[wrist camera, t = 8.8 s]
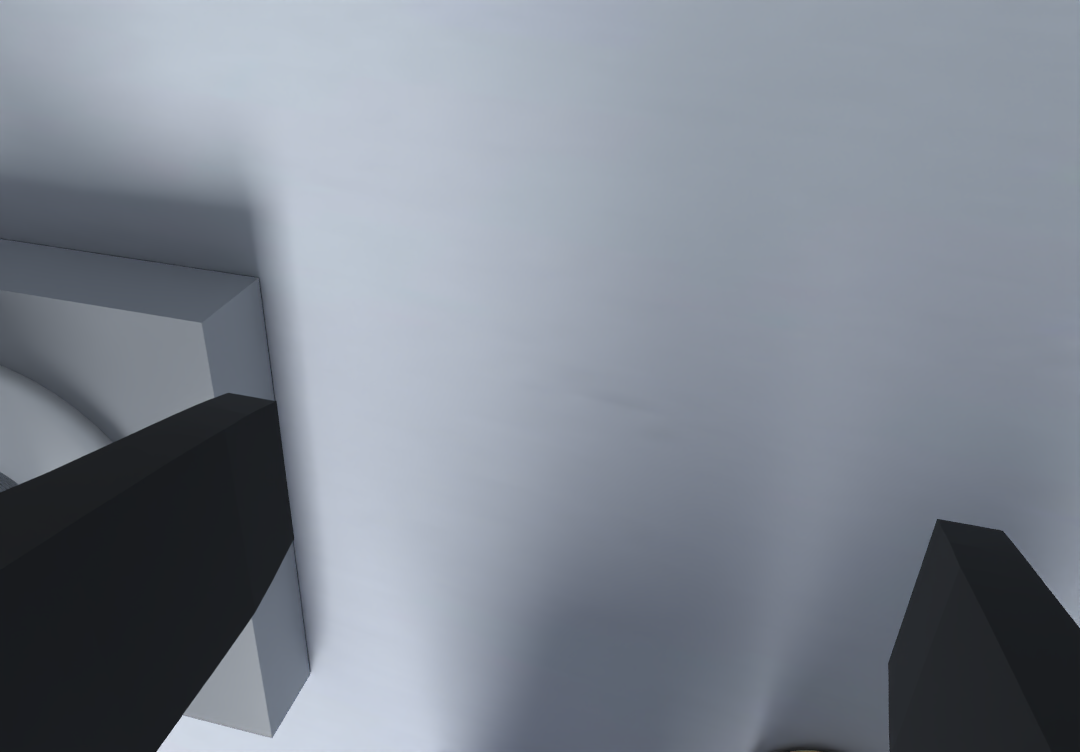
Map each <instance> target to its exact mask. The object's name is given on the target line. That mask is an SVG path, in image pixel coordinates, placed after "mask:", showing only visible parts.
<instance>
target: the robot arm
mask: <svg viewBox="0 0 1080 752" xmlns="http://www.w3.org/2000/svg"><path fill="white" fill-rule="evenodd" d="M293 540H294V535H293V528H292V520H291V512H290V504H289V497H288V489H287V481H286V473H285V466H284V458H283V450H282V442H281V434H280V427H279V419H278V411H277V403H276V401H273V400H267V399H261V398H256V397H250V396H245V395H239V394H233V393H226V394H223V395H221V396H218V397H215V398H212V399H210V400H207V401H205V402H202V403H200V404H197V405H195V406H193V407H190V408H188V409H186V410H183V411H181V412H179V413H177V414H174V415H172V416H170V417H168V418H165V419H163V420H161V421H159V422H157V423H154V424H152V425H150V426H148V427H146V428H143V429H141V430H139V431H137V432H135V433H133V434H130V435H128V436H126V437H124V438H122V439H120V440H117V441H115V442H113V443H111V444H109V445H107V446H104V447H102V448H100V449H98V450H96V451H93V452H91V453H89V454H87V455H85V456H82V457H80V458H78V459H76V460H74V461H72V462H69V463H67V464H65V465H63V466H61V467H58V468H56V469H54V470H52V471H50V472H47V473H45V474H43V475H40V476H38V477H36V478H33V479H31V480H29V481H26V482H24V483H21V484H19V485H17V486H14V487H12V488H10V489H7V490H5V491H2V492H0V752H156V751H157V750H158V749H159V747H160V746H161V744H162V743H163V742H164V740H165V739H166V737H167V736H168V735H169V733H170V732H171V731H172V729H173V728H174V726H175V725H176V724H177V722H178V721H179V719H180V718H181V717H182V715H183V714H184V712H185V711H186V710H187V708H188V707H189V706H190V704H191V703H192V701H193V700H194V699H195V697H196V696H197V694H198V693H199V692H200V690H201V689H202V687H203V686H204V685H205V683H206V682H207V681H208V679H209V678H210V676H211V675H212V674H213V672H214V671H215V669H216V668H217V667H218V665H219V664H220V662H221V661H222V659H223V658H224V657H225V655H226V654H227V652H228V651H229V650H230V648H231V647H232V645H233V644H234V642H235V641H236V640H237V638H238V637H239V635H240V634H241V633H242V631H243V630H244V628H245V627H246V625H247V624H248V622H249V621H250V619H251V618H252V617H253V615H254V614H255V612H256V610H257V608H258V607H259V605H260V603H261V601H262V599H263V597H264V596H265V594H266V592H267V590H268V588H269V587H270V585H271V583H272V581H273V579H274V577H275V575H276V573H277V571H278V569H279V567H280V565H281V563H282V561H283V559H284V558H285V556H286V554H287V552H288V550H289V548H290V546H291V544H292V542H293ZM888 669H889V741H890V752H1080V628H1079V627H1078V625H1077V624H1076V623H1075V622H1074V620H1073V619H1072V618H1071V617H1070V615H1069V614H1068V613H1067V611H1066V610H1065V609H1064V608H1063V606H1062V605H1061V604H1060V603H1059V601H1058V600H1057V599H1056V598H1055V596H1054V595H1053V594H1052V592H1051V591H1050V590H1049V589H1048V587H1047V586H1046V585H1045V583H1044V582H1043V581H1042V580H1041V578H1040V577H1039V576H1038V574H1037V573H1036V572H1035V571H1034V569H1033V568H1032V567H1031V565H1030V564H1029V563H1028V562H1027V560H1026V559H1025V558H1024V556H1023V555H1022V554H1021V553H1020V551H1019V550H1018V549H1017V548H1016V546H1015V545H1014V544H1013V543H1012V541H1011V540H1010V539H1009V538H1008V537H1007V535H1006V534H1005V533H1004V532H1003V531H1001V530H996V529H990V528H984V527H979V526H973V525H968V524H962V523H956V522H951V521H945V520H940V519H937V521H936V524H935V527H934V530H933V533H932V536H931V539H930V542H929V545H928V548H927V551H926V554H925V557H924V560H923V563H922V566H921V569H920V572H919V575H918V577H917V580H916V583H915V586H914V589H913V592H912V595H911V598H910V601H909V604H908V607H907V610H906V613H905V616H904V619H903V622H902V625H901V628H900V631H899V634H898V636H897V639H896V642H895V645H894V648H893V651H892V654H891V657H890V660H889V663H888Z"/></svg>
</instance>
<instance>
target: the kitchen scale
mask: <svg viewBox="0 0 1080 752" xmlns="http://www.w3.org/2000/svg"><path fill="white" fill-rule="evenodd" d="M226 393H233V394H239V395H245V396H250V397H256V398H261V399H267V400H273V401H275V400H274V392H273V384H272V376H271V369H270V361H269V353H268V346H267V338H266V330H265V323H264V315H263V307H262V299H261V292H260V284H259V278H256V277H249V276H243V275H236V274H229V273H223V272H216V271H209V270H203V269H196V268H190V267H183V266H176V265H170V264H163V263H156V262H150V261H143V260H137V259H130V258H123V257H117V256H110V255H103V254H97V253H90V252H84V251H77V250H70V249H64V248H57V247H50V246H44V245H37V244H31V243H24V242H17V241H11V240H4V239H0V472H1V473H3V474H4V475H6V476H8V477H9V478H10V479H12V480H13V481H15V482H16V483H17V484H21V483H24V482H26V481H29V480H31V479H33V478H36V477H38V476H40V475H43V474H45V473H47V472H50V471H52V470H54V469H56V468H58V467H61V466H63V465H65V464H67V463H69V462H72V461H74V460H76V459H78V458H80V457H82V456H85V455H87V454H89V453H91V452H93V451H96V450H98V449H100V448H102V447H104V446H107V445H109V444H111V443H113V442H115V441H117V440H120V439H122V438H124V437H126V436H128V435H130V434H133V433H135V432H137V431H139V430H141V429H143V428H146V427H148V426H150V425H152V424H154V423H157V422H159V421H161V420H163V419H165V418H168V417H170V416H172V415H174V414H177V413H179V412H181V411H183V410H186V409H188V408H190V407H193V406H195V405H197V404H200V403H202V402H205V401H207V400H210V399H212V398H215V397H218V396H221V395H223V394H226ZM309 675H310V669H309V662H308V654H307V646H306V639H305V631H304V623H303V615H302V608H301V600H300V592H299V585H298V577H297V569H296V561H295V554H294V546H293V542H292V544H291V546H290V548H289V550H288V552H287V554H286V556H285V558H284V559H283V561H282V563H281V565H280V567H279V569H278V571H277V573H276V575H275V577H274V579H273V581H272V583H271V585H270V587H269V588H268V590H267V592H266V594H265V596H264V597H263V599H262V601H261V603H260V605H259V607H258V608H257V610H256V612H255V614H254V615H253V617H252V618H251V619H250V621H249V622H248V624H247V625H246V627H245V628H244V630H243V631H242V633H241V634H240V635H239V637H238V638H237V640H236V641H235V642H234V644H233V645H232V647H231V648H230V650H229V651H228V652H227V654H226V655H225V657H224V658H223V659H222V661H221V662H220V664H219V665H218V667H217V668H216V669H215V671H214V672H213V674H212V675H211V676H210V678H209V679H208V681H207V682H206V683H205V685H204V686H203V687H202V689H201V690H200V692H199V693H198V694H197V696H196V697H195V699H194V700H193V701H192V703H191V704H190V706H189V707H188V708H187V710H186V711H185V712H184V714H183V715H184V716H188V717H192V718H195V719H199V720H203V721H207V722H211V723H215V724H219V725H223V726H227V727H231V728H235V729H238V730H242V731H246V732H250V733H254V734H258V735H262V736H266V737H270V738H272V737H273V736H274V734H275V732H276V731H277V729H278V727H279V726H280V724H281V722H282V721H283V719H284V717H285V716H286V714H287V712H288V711H289V709H290V707H291V706H292V704H293V702H294V701H295V699H296V697H297V696H298V694H299V692H300V691H301V689H302V687H303V686H304V684H305V682H306V681H307V679H308V677H309Z"/></svg>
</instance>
